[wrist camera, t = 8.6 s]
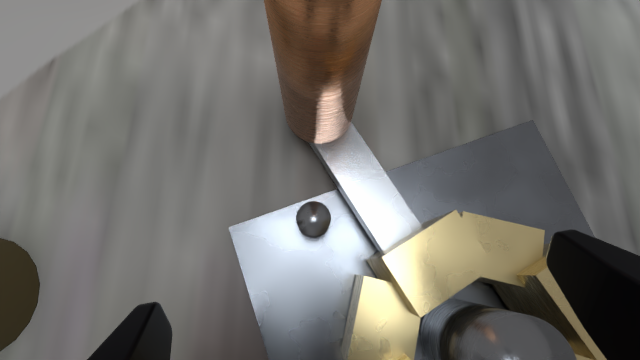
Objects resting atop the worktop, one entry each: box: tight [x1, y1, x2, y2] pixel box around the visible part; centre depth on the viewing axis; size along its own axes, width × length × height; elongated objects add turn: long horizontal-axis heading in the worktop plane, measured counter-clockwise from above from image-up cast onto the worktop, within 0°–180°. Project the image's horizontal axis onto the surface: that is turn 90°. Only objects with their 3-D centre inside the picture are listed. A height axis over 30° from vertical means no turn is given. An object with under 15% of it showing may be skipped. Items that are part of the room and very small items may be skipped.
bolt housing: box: [229, 120, 595, 360], centre depth 15 cm, size 18×18×6 cm
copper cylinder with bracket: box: [264, 0, 607, 360], centre depth 12 cm, size 20×11×14 cm, turn 32°
